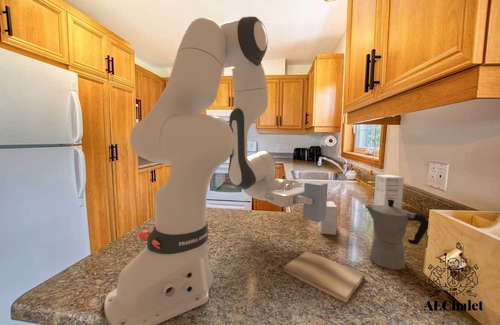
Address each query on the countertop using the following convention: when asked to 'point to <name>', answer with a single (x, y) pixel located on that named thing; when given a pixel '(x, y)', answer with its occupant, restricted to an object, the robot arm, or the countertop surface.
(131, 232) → the countertop surface
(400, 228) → the coffeepot
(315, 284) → the beech board
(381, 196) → the supplement box
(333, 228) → the small box
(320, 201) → the slate block
